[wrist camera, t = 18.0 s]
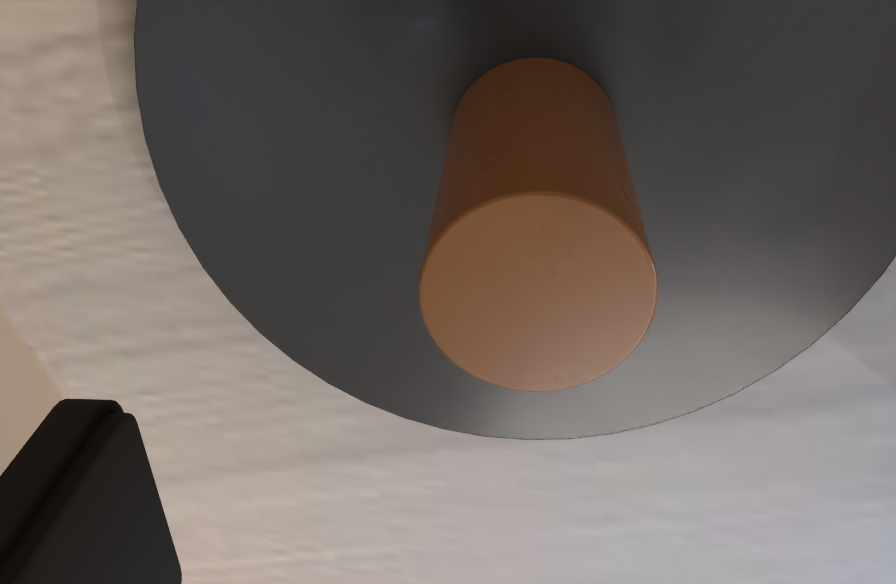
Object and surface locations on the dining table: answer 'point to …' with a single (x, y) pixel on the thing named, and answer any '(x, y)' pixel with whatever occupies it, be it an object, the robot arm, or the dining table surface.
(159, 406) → the dining table surface
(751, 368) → the lid
